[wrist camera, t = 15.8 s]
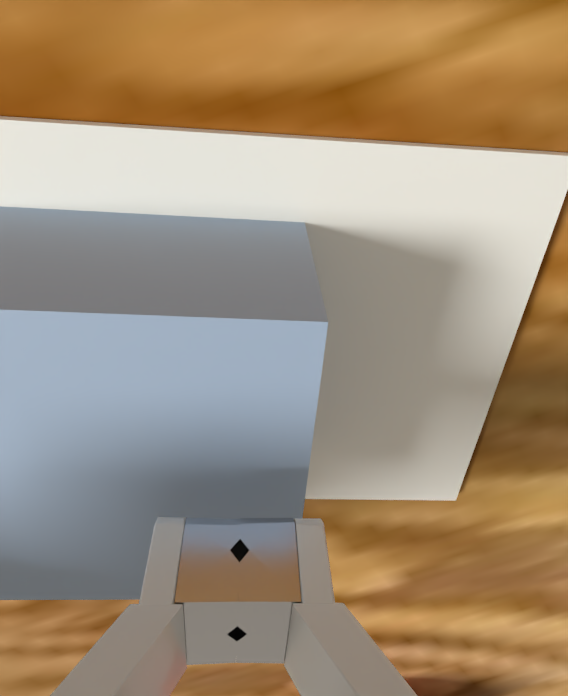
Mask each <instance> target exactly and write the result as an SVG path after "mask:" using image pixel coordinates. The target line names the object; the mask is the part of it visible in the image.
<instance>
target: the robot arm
mask: <svg viewBox="0 0 568 696" xmlns="http://www.w3.org/2000/svg"><path fill="white" fill-rule="evenodd" d="M216 663H285V664H284V666H285V668H286V670H287V672H288V674H289V675H290V677H291V679H292V681H293V682H294V684H295V686H296V688H297V690H298V691H299V693H300V695H301V696H417V694H416V693H415V692H414V691H413V689H412V688H411V687H410V686H409V684H408V683H407V682H406V681H405V679H404V678H403V677H402V676H401V674H400V673H399V672H398V671H397V669H396V668H395V667H394V666H393V664H392V663H391V662H390V661H389V660H388V658H387V657H386V656H385V655H384V653H383V652H382V651H381V650H380V648H379V647H378V646H377V645H376V643H375V642H374V641H373V640H372V638H371V637H370V636H369V635H368V633H367V632H366V631H365V630H364V628H363V627H362V626H361V625H360V623H359V622H358V621H357V620H356V618H355V617H354V616H353V615H352V613H351V612H350V611H349V610H348V608H347V607H346V606H345V605H344V603H335V600H334V593H333V586H332V578H331V571H330V564H329V557H328V550H327V543H326V536H325V529H324V523H323V521H322V520H321V519H320V518H295V519H293V518H240V519H217V518H188V517H158V518H157V520H156V523H155V525H154V529H153V534H152V539H151V545H150V550H149V555H148V560H147V565H146V570H145V575H144V580H143V585H142V590H141V595H140V601H139V604H130V605H129V606H128V607H127V608H126V609H125V611H124V612H123V613H122V614H121V615H120V616H119V617H118V619H117V620H116V621H115V622H114V623H113V624H112V625H111V627H110V628H109V629H108V630H107V631H106V632H105V633H104V635H103V636H102V637H101V638H100V639H99V640H98V641H97V643H96V644H95V645H94V646H93V647H92V648H91V649H90V651H89V652H88V653H87V654H86V655H85V656H84V657H83V659H82V660H81V661H80V662H79V663H78V664H77V665H76V667H75V668H74V669H73V670H72V671H71V672H70V673H69V675H68V676H67V677H66V678H65V679H64V680H63V681H62V683H61V684H60V685H59V686H58V687H57V688H56V689H55V691H54V692H53V693H52V694H51V695H50V696H170V694H171V693H172V691H173V690H174V688H175V686H176V685H177V683H178V682H179V680H180V678H181V677H182V675H183V673H184V672H185V670H186V669H187V665H193V664H216Z"/></svg>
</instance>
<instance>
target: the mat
mask: <svg viewBox="0 0 568 696" xmlns="http://www.w3.org/2000/svg"><path fill="white" fill-rule="evenodd" d="M567 190H568V153H565V152H550V151H534V150H519V149H503V148H488V147H472V146H457V145H441V144H426V143H410V142H395V141H379V140H364V139H348V138H333V137H317V136H302V135H286V134H271V133H255V132H240V131H224V130H209V129H193V128H177V127H162V126H146V125H131V124H115V123H100V122H84V121H69V120H53V119H38V118H22V117H7V116H0V206H2V207H21V208H40V209H59V210H78V211H97V212H116V213H135V214H154V215H173V216H192V217H211V218H230V219H249V220H268V221H287V222H305V226H306V230H307V234H308V239H309V243H310V247H311V251H312V255H313V260H314V264H315V268H316V272H317V276H318V281H319V285H320V289H321V293H322V297H323V302H324V306H325V310H326V314H327V318H328V328H327V336H326V343H325V351H324V359H323V366H322V374H321V381H320V389H319V396H318V404H317V411H316V419H315V426H314V434H313V441H312V449H311V456H310V464H309V471H308V479H307V486H306V494H305V499H361V500H453V501H456V498H457V496H458V493H459V490H460V487H461V485H462V482H463V479H464V476H465V473H466V471H467V468H468V465H469V462H470V460H471V457H472V454H473V451H474V449H475V446H476V443H477V440H478V437H479V435H480V432H481V429H482V426H483V424H484V421H485V418H486V415H487V412H488V410H489V407H490V404H491V401H492V399H493V396H494V393H495V390H496V387H497V385H498V382H499V379H500V376H501V374H502V371H503V368H504V365H505V362H506V360H507V357H508V354H509V351H510V349H511V346H512V343H513V340H514V337H515V335H516V332H517V329H518V326H519V324H520V321H521V318H522V315H523V313H524V310H525V307H526V304H527V301H528V299H529V296H530V293H531V290H532V288H533V285H534V282H535V279H536V276H537V274H538V271H539V268H540V265H541V263H542V260H543V257H544V254H545V251H546V249H547V246H548V243H549V240H550V238H551V235H552V232H553V229H554V226H555V224H556V221H557V218H558V215H559V213H560V210H561V207H562V204H563V201H564V199H565V196H566V193H567Z"/></svg>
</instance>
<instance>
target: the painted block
mask: <svg viewBox="0 0 568 696" xmlns="http://www.w3.org/2000/svg"><path fill="white" fill-rule="evenodd" d="M327 328H328V318H327V314H326V310H325V306H324V302H323V297H322V293H321V289H320V285H319V281H318V276H317V272H316V268H315V264H314V260H313V255H312V251H311V247H310V243H309V239H308V234H307V230H306V226H305V222H287V221H268V220H249V219H230V218H211V217H192V216H173V215H154V214H135V213H116V212H97V211H78V210H59V209H40V208H21V207H2V206H0V600H107V599H140V595H141V590H142V585H143V580H144V575H145V570H146V565H147V560H148V555H149V550H150V545H151V539H152V534H153V529H154V525H155V523H156V520H157V518H158V517H188V518H217V519H240V518H293V519H295V518H302V516H303V509H304V501H305V494H306V486H307V479H308V471H309V464H310V456H311V449H312V441H313V434H314V426H315V419H316V411H317V404H318V396H319V389H320V381H321V374H322V366H323V359H324V351H325V343H326V336H327Z"/></svg>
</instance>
